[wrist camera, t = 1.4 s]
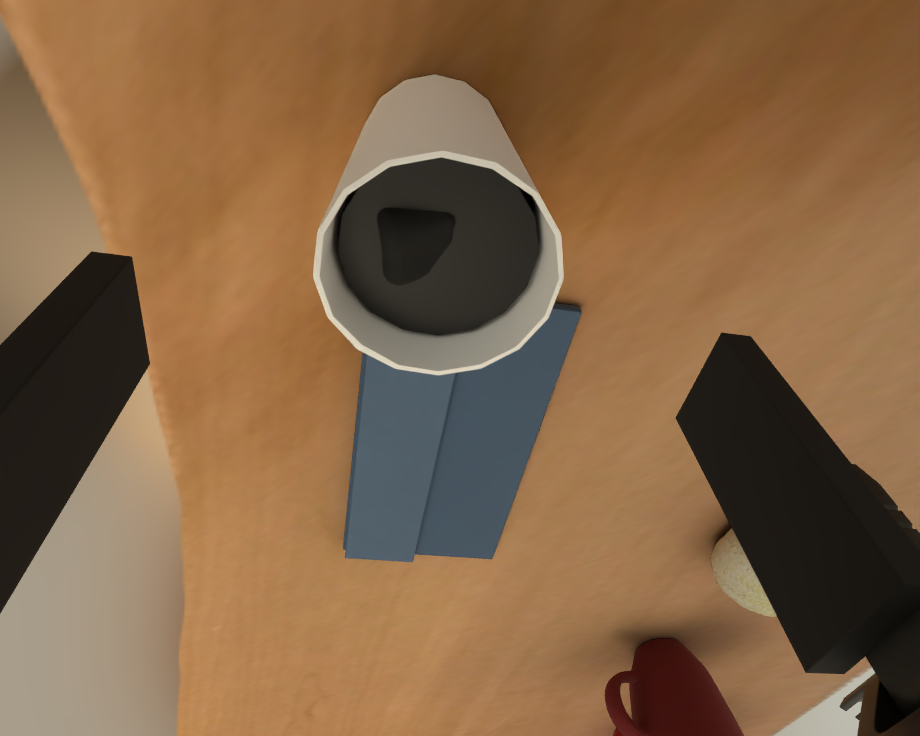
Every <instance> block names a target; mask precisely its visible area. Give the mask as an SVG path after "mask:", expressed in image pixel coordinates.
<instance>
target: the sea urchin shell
mask: <svg viewBox="0 0 920 736" xmlns="http://www.w3.org/2000/svg"><path fill="white" fill-rule="evenodd" d="M711 556H712V557H711V564H712V568H713V571H714V574H715V578H716V580H717V584H719V585H720V587H721V589H722V590H723V591H724V592H725V593H726V594H727V596H729V597H731V598H732V599H733V600H734V601H735V602H737V603H738V604H739V605H740V606H742V607H744V608H747V609H748V611H754V612H756V613H759V614H761V615H765V616H769V617H775V616H777V615H776V613H775V611H774V609H773V608H772V606H771V604H770V602H769V600H768V598H767V596H766V594H765V592H764V590H763V588H762V586H761V584H760V582H759V580H758V578H757V576H756V574H755V572H754V570H753V568H752V566H751V564H750V563H749V561H748V559H747V557H746V555H745V553H744V551H743V549H742V547H741V545H740V543H739V541H738V539H737V537H736V535H735V533H734V531H733V529H732V528H731V529H730V530H729V532H727V533H726V534H725V536H724V537H722V538H721V539H720V540H719V541H718V542H717V544H716V545H715V548H714V550H713V552H712V554H711Z"/></svg>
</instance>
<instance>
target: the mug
mask: <svg viewBox="0 0 920 736" xmlns="http://www.w3.org/2000/svg"><path fill="white" fill-rule="evenodd" d="M621 683H630V685H629V689H630V701H631V711H632V719H631V718H630V717H629V715H628V714H627V712H626V710H625V708H624V706H623V703H622V700H621V695H620V686H621ZM605 702H606V706H607V710H608V713H609V715H610V717H611V719H612V721H613V723H614V725H615V726H616V728H617V729H618V730H619V731H620V733H621V734H622V735H623V736H744V735H743V733H742V731H741V729H740V727H739V725H738V723H737V721H736V720H735V718H734V716H733V714H732V713H731V711H730V709H729V707H728V705H727V704H726V702H725V700H724V698H723V697H722V695H721V693H720V691H719V689H718V688H717V686H716V684H715V682H714V681H713V679H712V677H711V675H710V674H709V672H708V671H707V669H706V668H705V667H704V666H703V664H702V663H701V662H700V661H699V660H698V659H697V658H696V657H695V656H694V655H693V654H692V653H691V652H690V651H689V650H688V649H687V648H686V647H685V646H684V645H683V644H682V643H681V642H679V641H678V640H675V639H670V638H661V639H655V640H651V641H648V642H646V643H644V644H642V645H641V646H640V647H639V648H638V649H637V650H636V653H635V656H634V661H633V666H632V670H631V671H624V672H620V673H618V674H616V675H615V676H613V677H612V678H611V679H610V680H609V682H608V683H607V686H606V689H605Z"/></svg>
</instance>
